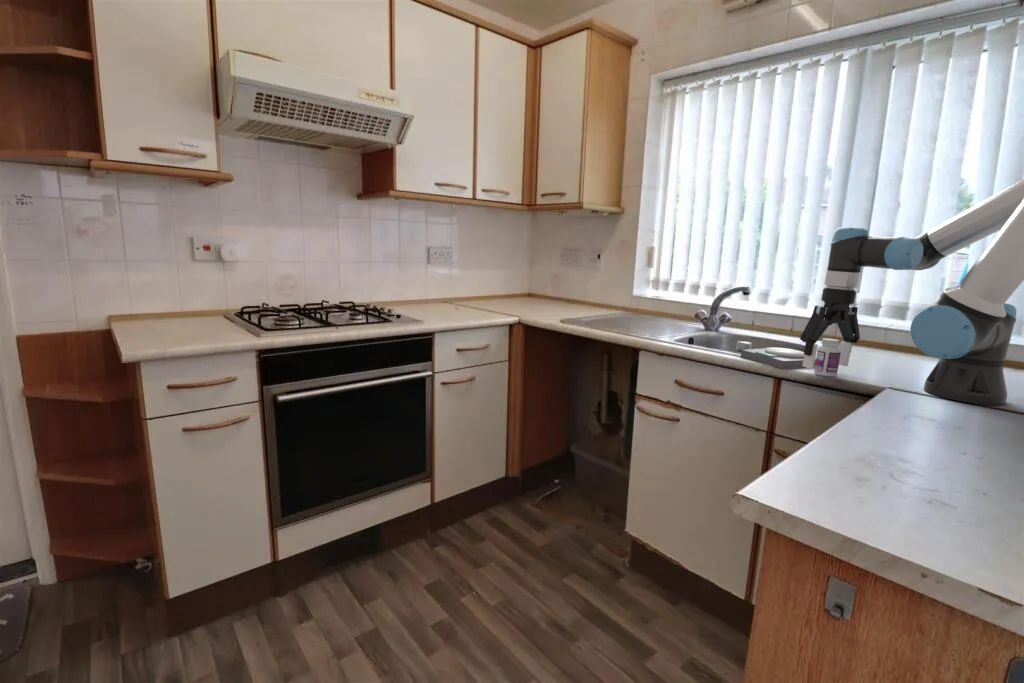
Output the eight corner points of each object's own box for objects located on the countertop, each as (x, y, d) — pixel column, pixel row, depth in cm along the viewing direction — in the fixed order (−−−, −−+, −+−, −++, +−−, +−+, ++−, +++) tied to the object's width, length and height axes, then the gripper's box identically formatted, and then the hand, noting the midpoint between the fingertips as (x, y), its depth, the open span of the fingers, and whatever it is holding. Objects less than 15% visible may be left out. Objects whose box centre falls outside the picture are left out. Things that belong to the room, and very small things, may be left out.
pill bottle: (836, 374, 142) (843, 339, 140) (836, 378, 138) (843, 342, 136) (814, 370, 145) (819, 336, 143) (813, 374, 140) (819, 339, 138)
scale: (778, 354, 165) (779, 345, 164) (822, 366, 151) (823, 356, 151) (740, 356, 159) (741, 347, 158) (782, 368, 145) (784, 358, 145)
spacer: (743, 349, 171) (744, 340, 170) (753, 352, 167) (755, 343, 166) (732, 350, 169) (734, 341, 168) (743, 353, 165) (744, 344, 164)
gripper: (857, 286, 145) (842, 360, 149) (793, 285, 135) (780, 364, 140) (885, 290, 138) (869, 367, 143) (820, 289, 128) (805, 372, 133)
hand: (825, 366), depth 141 cm, fingers open, 13 cm apart
